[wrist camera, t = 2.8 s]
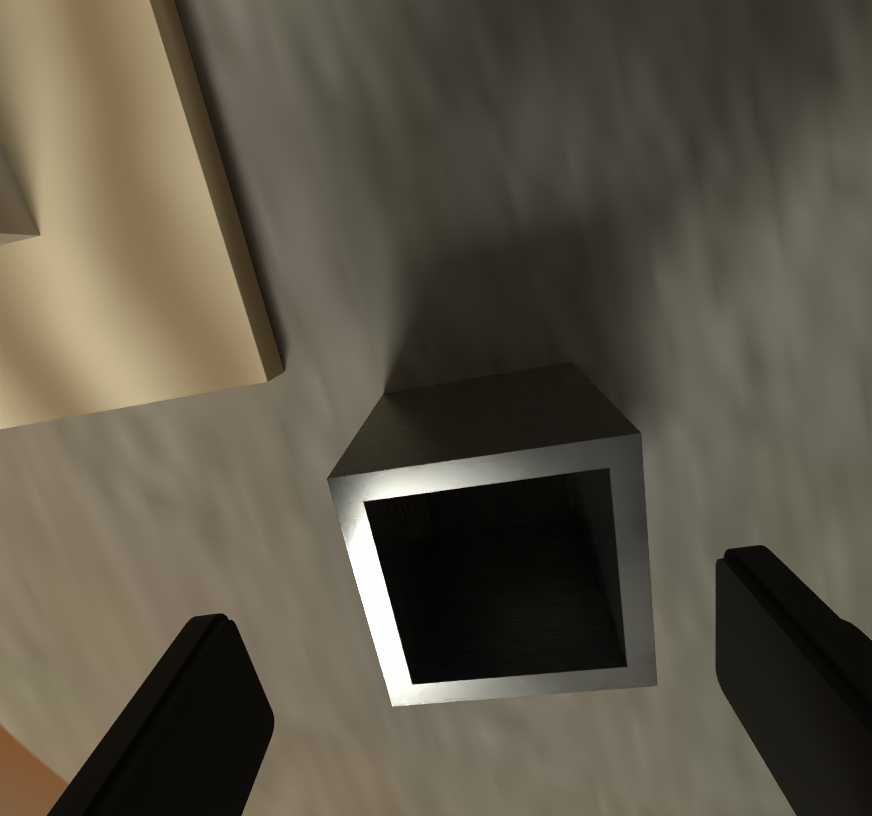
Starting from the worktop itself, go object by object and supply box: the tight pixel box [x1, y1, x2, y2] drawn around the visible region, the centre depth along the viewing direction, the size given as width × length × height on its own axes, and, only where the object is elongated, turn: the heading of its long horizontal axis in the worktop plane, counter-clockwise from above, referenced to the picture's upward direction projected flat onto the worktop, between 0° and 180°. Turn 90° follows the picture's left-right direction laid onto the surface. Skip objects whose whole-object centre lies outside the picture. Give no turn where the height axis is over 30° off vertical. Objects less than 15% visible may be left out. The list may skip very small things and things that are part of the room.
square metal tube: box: [327, 363, 657, 706], centre depth 14 cm, size 7×7×7 cm
